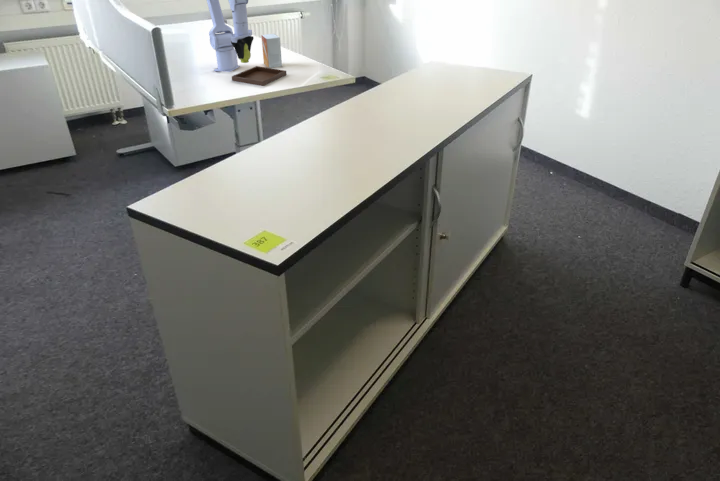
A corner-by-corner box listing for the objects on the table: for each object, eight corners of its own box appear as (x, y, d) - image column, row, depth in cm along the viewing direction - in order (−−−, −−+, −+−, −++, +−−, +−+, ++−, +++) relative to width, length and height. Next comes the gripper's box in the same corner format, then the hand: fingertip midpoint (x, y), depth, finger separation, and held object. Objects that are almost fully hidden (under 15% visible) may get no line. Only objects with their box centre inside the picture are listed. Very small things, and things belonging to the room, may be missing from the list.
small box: (263, 64, 253) (261, 34, 246) (276, 62, 255) (274, 33, 248) (268, 69, 247) (266, 38, 240) (282, 67, 249) (280, 37, 242)
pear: (241, 59, 232) (239, 37, 227) (253, 60, 231) (251, 38, 226) (235, 63, 228) (233, 40, 223) (247, 64, 226) (245, 41, 221)
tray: (256, 71, 244) (256, 66, 243) (286, 76, 238) (286, 70, 237) (232, 81, 231) (231, 76, 229) (262, 87, 225) (262, 81, 224)
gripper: (241, 26, 214) (245, 62, 221) (257, 19, 226) (260, 53, 233) (224, 25, 215) (229, 60, 223) (241, 17, 227) (245, 51, 235)
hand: (244, 56), depth 228 cm, fingers closed on pear, 5 cm apart
